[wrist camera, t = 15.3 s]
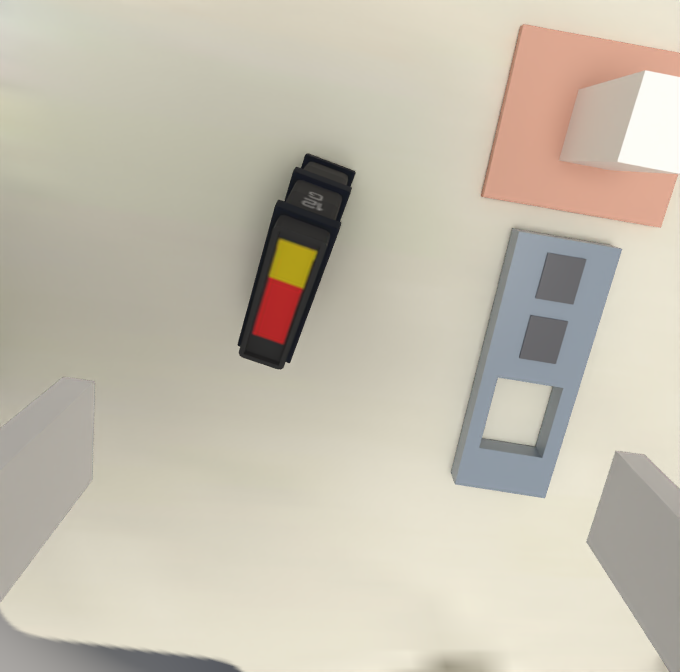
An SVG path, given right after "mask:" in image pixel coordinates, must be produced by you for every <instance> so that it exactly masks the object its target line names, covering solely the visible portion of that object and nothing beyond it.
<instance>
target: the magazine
mask: <svg viewBox="0 0 680 672" xmlns="http://www.w3.org/2000/svg"><path fill="white" fill-rule="evenodd" d="M354 176H355V171H353V170H351V169H348V168H345V167H343V166H340V165H337V164H335V163H332V162H329V161H327V160H324V159H321V158H319V157H316V156H313V155H311V154H308V153H307V154H306V155H305V157H304V161H303V164H302V167H301V168H299V167H296V168H295V169H294V171H293V174H292V177H291V181H290V184H289V188H288V191H287V194H286V198H285V201H281V200H278V201H277V203H276V205H275V208H274V212H273V216H272V219H271V223H270V227H269V230H268V234H267V238H266V241H265V245H264V249H263V253H262V256H261V260H260V264H259V267H258V271H257V275H256V278H255V282H254V286H253V289H252V293H251V297H250V301H249V304H248V308H247V312H246V315H245V319H244V323H243V326H242V330H241V334H240V337H239V341H238V346H240V350H239V355H240V356H241V357H243V358H246V359H249V360H252V361H255V362H258V363H261V364H264V365H267V366H269V367H272V368H275V369H282V368H283V367H284V365H285V362H287V363H290V362H291V359H292V356H293V353H294V351H295V348H296V345H297V343H298V340H299V337H300V335H301V332H302V329H303V326H304V324H305V321H306V318H307V316H308V313H309V310H310V308H311V305H312V302H313V300H314V297H315V294H316V291H317V289H318V286H319V283H320V281H321V278H322V275H323V273H324V270H325V267H326V264H327V262H328V259H329V256H330V254H331V251H332V248H333V246H334V243H335V240H336V238H337V235H338V232H339V229H340V226H341V222H340V220H341V217H342V214H343V212H344V209H345V206H346V204H347V201H348V198H349V195H350V192H351V189H352V187H351V184H352V181H353V178H354Z"/></svg>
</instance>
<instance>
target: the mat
mask: <svg viewBox="0 0 680 672" xmlns="http://www.w3.org/2000/svg"><path fill="white" fill-rule="evenodd" d="M645 70H646V71H652V72H657V73H662V74H667V75H672V76H677V77H680V53H677V52H672V51H666V50H661V49H655V48H650V47H644V46H639V45H634V44H628V43H623V42H617V41H612V40H606V39H601V38H595V37H590V36H585V35H579V34H574V33H568V32H563V31H557V30H552V29H546V28H541V27H536V26H530V25H525V24H523V25H522V26H521V27H520V30H519V35H518V39H517V43H516V48H515V52H514V56H513V60H512V65H511V69H510V73H509V78H508V82H507V86H506V91H505V95H504V99H503V104H502V108H501V112H500V117H499V121H498V125H497V130H496V134H495V138H494V142H493V147H492V151H491V155H490V160H489V164H488V168H487V173H486V177H485V181H484V186H483V190H482V194H481V196H482V197H487V198H493V199H499V200H504V201H510V202H516V203H522V204H527V205H533V206H539V207H545V208H551V209H556V210H562V211H568V212H574V213H579V214H585V215H591V216H597V217H603V218H608V219H614V220H620V221H626V222H632V223H637V224H643V225H649V226H655V227H660V228H661V225H662V222H663V219H664V216H665V213H666V210H667V207H668V204H669V201H670V198H671V195H672V192H673V189H674V185H675V182H676V179H677V176H678V174H666V173H648V172H631V171H613V170H606V169H601V168H596V167H590V166H585V165H580V164H575V163H570V162H564V161H559V158H560V155H561V151H562V147H563V144H564V140H565V137H566V133H567V130H568V126H569V122H570V119H571V115H572V112H573V108H574V104H575V101H576V97H577V94H578V90H579V89H582V88H586V87H589V86H593V85H596V84H599V83H603V82H606V81H610V80H613V79H617V78H620V77H624V76H627V75H631V74H634V73H638V72H641V71H645Z"/></svg>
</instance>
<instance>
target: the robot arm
mask: <svg viewBox="0 0 680 672" xmlns="http://www.w3.org/2000/svg"><path fill="white" fill-rule="evenodd" d="M94 402H95V381H92V380H84V379H77V378H69V377H62V378H61V379H60V380H59V381H57V382H56V383H55V384H54V385H52V386H51V387H50V388H49V389H48V390H46V391H45V392H44V393H43V394H41V395H40V396H39V397H38V398H37V399H35V400H34V401H33V402H32V403H30V404H29V405H28V406H27V407H25V408H24V409H23V410H22V411H21V412H19V413H18V414H17V415H16V416H14V417H13V418H12V419H11V420H10V421H8V422H7V423H6V424H5V425H3V426H2V427H1V428H0V602H1V601H2V600H3V598H4V597H5V596H6V594H7V593H8V592H9V590H10V589H11V588H12V586H13V585H14V584H15V582H16V581H17V580H18V578H19V577H20V576H21V574H22V573H23V572H24V570H25V569H26V568H27V566H28V565H29V564H30V562H31V561H32V560H33V558H34V557H35V556H36V554H37V553H38V552H39V550H40V549H41V548H42V546H43V545H44V544H45V542H46V541H47V540H48V538H49V537H50V536H51V534H52V533H53V532H54V530H55V529H56V528H57V526H58V525H59V524H60V522H61V521H62V520H63V518H64V517H65V516H66V514H67V513H68V512H69V510H70V509H71V508H72V506H73V505H74V504H75V502H76V501H77V500H78V498H79V497H80V496H81V494H82V493H83V492H84V490H85V489H86V488H87V486H88V485H89V484H90V482H91V481H92V479H93V441H94ZM587 544H588V545H589V547H590V548H591V550H592V551H593V553H594V555H595V556H596V558H597V559H598V561H599V562H600V564H601V565H602V567H603V569H604V570H605V572H606V573H607V575H608V576H609V578H610V579H611V581H612V583H613V584H614V586H615V587H616V589H617V590H618V592H619V594H620V595H621V597H622V598H623V600H624V601H625V603H626V604H627V606H628V608H629V609H630V611H631V612H632V614H633V615H634V617H635V619H636V620H637V622H638V623H639V625H640V626H641V628H642V629H643V631H644V633H645V634H646V636H647V637H648V639H649V640H650V642H651V643H652V645H653V647H654V648H655V650H656V651H657V653H658V654H659V656H660V658H661V659H662V661H663V662H664V664H665V665H666V667H667V668H668V670H669V672H680V489H679V488H678V487H677V486H676V485H675V484H674V483H673V482H672V481H671V480H670V479H669V478H668V477H667V476H666V475H665V474H664V473H663V472H662V471H661V470H660V469H659V468H658V467H657V466H656V465H655V464H654V463H653V462H652V461H651V460H650V459H649V458H648V457H647V456H646V455H644V454H636V453H629V452H622V451H615V454H614V458H613V461H612V464H611V467H610V470H609V473H608V476H607V479H606V482H605V486H604V489H603V492H602V495H601V498H600V501H599V504H598V507H597V510H596V514H595V517H594V520H593V523H592V526H591V529H590V532H589V535H588V538H587Z"/></svg>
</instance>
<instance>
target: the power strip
mask: <svg viewBox="0 0 680 672" xmlns="http://www.w3.org/2000/svg"><path fill="white" fill-rule="evenodd" d="M621 251H622V249H621V248H618V247H615V246H612V245H607V244H601V243H595V242H589V241H584V240H578V239H572V238H566V237H560V236H554V235H549V234H543V233H537V232H531V231H525V230H519V229H514V228H512V232H511V236H510V240H509V244H508V248H507V252H506V256H505V260H504V263H503V267H502V271H501V275H500V279H499V283H498V287H497V291H496V295H495V299H494V303H493V307H492V311H491V315H490V319H489V323H488V327H487V331H486V335H485V339H484V343H483V347H482V351H481V355H480V359H479V363H478V367H477V371H476V375H475V379H474V383H473V387H472V391H471V395H470V399H469V403H468V407H467V411H466V415H465V419H464V423H463V427H462V431H461V435H460V439H459V443H458V447H457V451H456V455H455V459H454V463H453V467H452V471H451V474H452V477H453V480H454V483H455V484H457V485H463V486H470V487H476V488H483V489H489V490H496V491H502V492H508V493H515V494H521V495H528V496H534V497H541V498H545V497H546V493H547V490H548V487H549V484H550V480H551V477H552V474H553V471H554V467H555V464H556V461H557V458H558V455H559V451H560V448H561V445H562V442H563V438H564V435H565V432H566V429H567V425H568V422H569V419H570V416H571V413H572V409H573V406H574V403H575V400H576V396H577V393H578V390H579V387H580V383H581V380H582V377H583V374H584V370H585V367H586V364H587V361H588V358H589V354H590V351H591V348H592V345H593V341H594V338H595V335H596V332H597V328H598V325H599V322H600V319H601V316H602V312H603V309H604V306H605V303H606V299H607V296H608V293H609V290H610V286H611V283H612V280H613V277H614V274H615V270H616V267H617V264H618V261H619V257H620V254H621ZM498 377H499V378H505V379H511V380H517V381H523V382H530V383H536V384H542V385H548V386H553V388H552V392H551V395H550V399H549V402H548V405H547V409H546V412H545V416H544V419H543V422H542V426H541V429H540V433H539V436H538V439H537V443H536V446H535V447H533V446H527V445H521V444H514V443H508V442H502V441H495V440H489V439H483V438H482V435H483V432H484V428H485V424H486V420H487V416H488V413H489V409H490V405H491V401H492V397H493V394H494V390H495V386H496V382H497V378H498Z"/></svg>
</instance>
